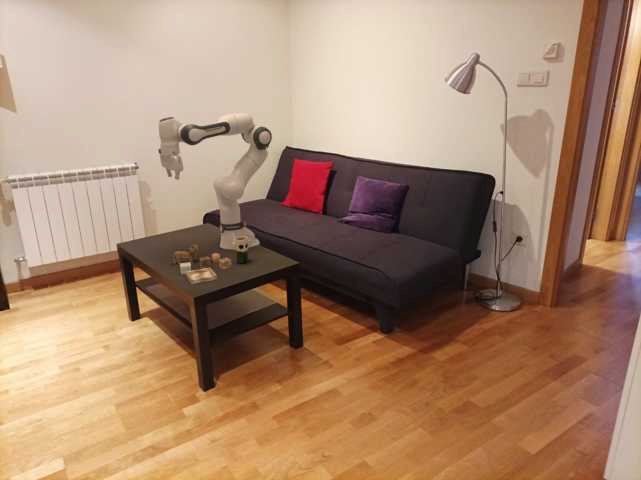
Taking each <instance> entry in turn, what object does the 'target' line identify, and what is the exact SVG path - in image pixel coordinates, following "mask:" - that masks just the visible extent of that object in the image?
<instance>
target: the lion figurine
mask: <svg viewBox="0 0 641 480" xmlns="http://www.w3.org/2000/svg"><path fill="white" fill-rule="evenodd" d="M198 253H199V247H198V245H197V244H192V245H191V246H190V247H189V248H188V249H187V250H183V251H181V250H180V251H178V250H177V251H175V252H174V253H173V256H172V262H171V263H170V265H173V263H174V264H178V265H179V266H180V263H181V262H180V260H181V258H182V259H188V262H190V263H191V264H194V261H193V258H195V257H196V256H197V254H198ZM176 260H177V261H176Z"/></svg>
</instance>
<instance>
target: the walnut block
mask: <svg viewBox="0 0 641 480" xmlns="http://www.w3.org/2000/svg"><path fill="white" fill-rule="evenodd" d="M211 261H212V258H211V257H209V256H203V257H199V267H200V269H204V268H211V269H212V262H211Z"/></svg>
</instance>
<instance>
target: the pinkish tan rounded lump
mask: <svg viewBox="0 0 641 480" xmlns="http://www.w3.org/2000/svg"><path fill="white" fill-rule="evenodd" d="M220 259H221V255H220V253H218V252H214V253H211V261H212V262H211V263H213V264H219V260H220Z"/></svg>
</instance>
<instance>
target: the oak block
mask: <svg viewBox="0 0 641 480" xmlns="http://www.w3.org/2000/svg"><path fill="white" fill-rule="evenodd" d="M218 267H219V268H220V269H222V270H227V269H231V268H232V259H230V258H228V257H225V258H224V257H223V258H220V260H219V263H218Z"/></svg>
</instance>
